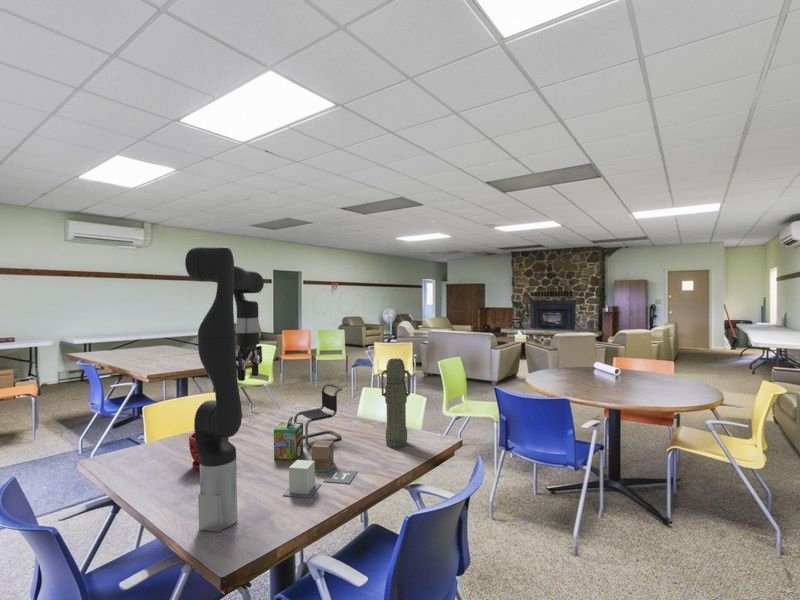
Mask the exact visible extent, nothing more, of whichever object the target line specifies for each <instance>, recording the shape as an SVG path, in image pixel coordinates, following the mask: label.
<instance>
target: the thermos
mask: <svg viewBox="0 0 800 600" xmlns="http://www.w3.org/2000/svg"><path fill="white" fill-rule="evenodd" d="M405 368H406V367H405V363H404V360H403V359H401V358H398V357H397V358H390V359H388V360H387V363H386V369H384V370H383V371H382V372H381V375H380V376H381V396H382V397H384V399H385V404H386V428H385V445H386V447H388V448H392V449H400V448H403V447H406V446H407V445H408V440H407V439H408V429H407V422H406V421H407V419H406V418H407V416H406V414H407V411H406V409H407V408H406V404H407V402H408V401H407V399H408V397H409V396H410V395H411V373H410V372H409V370H406V369H405ZM384 374H385V375H386V385H385V388H384ZM406 375H407V386H406V381H405V379H406V378H405V377H406ZM384 389H385V390H384Z"/></svg>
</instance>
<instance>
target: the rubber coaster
mask: <svg viewBox="0 0 800 600" xmlns="http://www.w3.org/2000/svg"><path fill="white" fill-rule="evenodd" d="M336 464H337V463H335V462H334V463H333V464H332V466H331V467H330V468H329V469H328V470H323V469H315V473H326V472H331V471H332V470H335V468H336V466H337V465H336Z"/></svg>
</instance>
